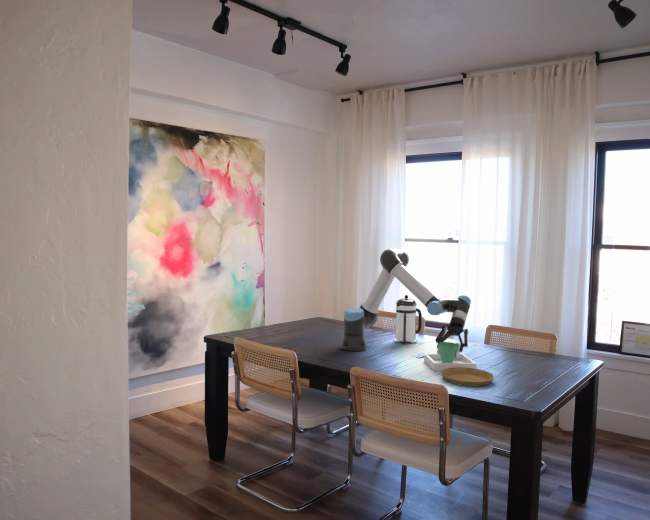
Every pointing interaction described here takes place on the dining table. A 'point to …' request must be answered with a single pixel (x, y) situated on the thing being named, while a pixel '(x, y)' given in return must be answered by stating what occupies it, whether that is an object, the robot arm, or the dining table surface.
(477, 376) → the plant saucer
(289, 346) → the dining table surface
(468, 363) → the tray
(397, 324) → the coffee press
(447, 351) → the mug
